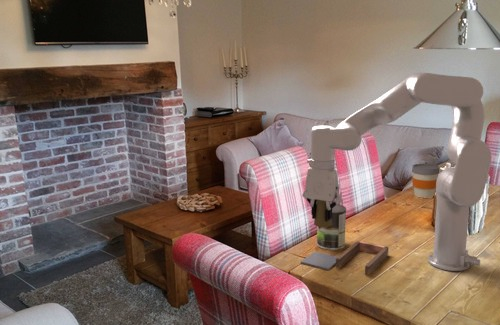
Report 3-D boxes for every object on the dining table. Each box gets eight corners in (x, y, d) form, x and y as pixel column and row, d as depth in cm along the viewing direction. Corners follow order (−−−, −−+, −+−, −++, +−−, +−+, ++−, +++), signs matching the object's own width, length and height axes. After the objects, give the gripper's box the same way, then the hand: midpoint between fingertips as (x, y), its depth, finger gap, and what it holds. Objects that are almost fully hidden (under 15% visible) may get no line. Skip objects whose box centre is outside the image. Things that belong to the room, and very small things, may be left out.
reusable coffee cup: (418, 191, 232) (420, 162, 228) (442, 196, 222) (444, 166, 219) (405, 196, 224) (407, 166, 220) (429, 201, 214) (431, 170, 211)
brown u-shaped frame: (388, 255, 156) (388, 247, 155) (368, 275, 141) (368, 266, 140) (357, 248, 162) (357, 240, 161) (335, 267, 147) (335, 258, 147)
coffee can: (325, 252, 159) (326, 213, 156) (311, 241, 169) (312, 205, 166) (351, 247, 163) (352, 209, 160) (335, 237, 172) (336, 202, 169)
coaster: (341, 259, 153) (341, 257, 153) (328, 270, 145) (328, 268, 145) (314, 252, 159) (314, 251, 159) (300, 263, 151) (300, 261, 151)
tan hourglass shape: (330, 221, 153) (331, 189, 151) (333, 227, 147) (334, 194, 145) (312, 221, 153) (313, 189, 151) (314, 227, 147) (315, 194, 145)
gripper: (293, 163, 147) (293, 217, 151) (342, 169, 137) (340, 227, 141) (305, 159, 153) (304, 211, 156) (352, 165, 143) (350, 220, 147)
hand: (321, 218), depth 149 cm, fingers closed on tan hourglass shape, 4 cm apart
